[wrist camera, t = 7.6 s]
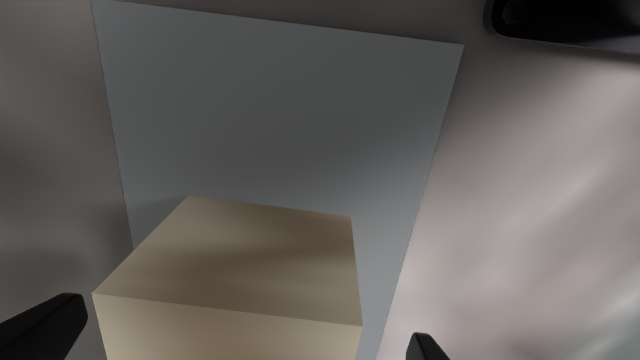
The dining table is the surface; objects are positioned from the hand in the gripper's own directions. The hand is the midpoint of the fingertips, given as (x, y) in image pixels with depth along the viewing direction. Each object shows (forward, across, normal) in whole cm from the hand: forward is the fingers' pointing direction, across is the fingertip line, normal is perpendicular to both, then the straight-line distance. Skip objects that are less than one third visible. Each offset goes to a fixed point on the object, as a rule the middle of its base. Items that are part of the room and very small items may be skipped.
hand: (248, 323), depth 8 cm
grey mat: (+2, 0, 0) cm, 2 cm away
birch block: (+2, 0, 0) cm, 2 cm away
